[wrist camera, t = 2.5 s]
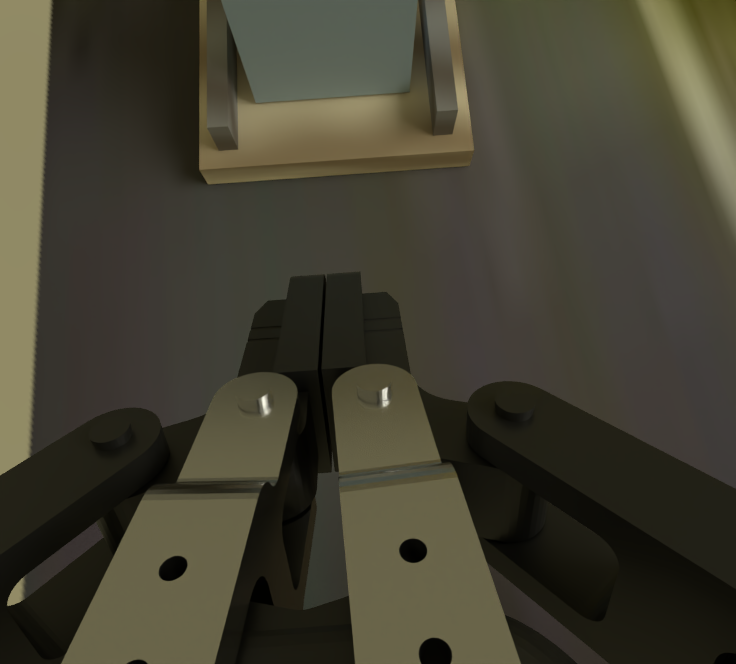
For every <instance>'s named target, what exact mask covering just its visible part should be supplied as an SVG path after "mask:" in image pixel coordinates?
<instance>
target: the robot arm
mask: <svg viewBox="0 0 736 664" xmlns="http://www.w3.org/2000/svg"><path fill="white" fill-rule="evenodd" d="M332 452H333V460H334V467H335V472H339V476H340V477H339V489H340V501H341V512H342V523H343V534H344V545H345V556H346V567H347V578H348V589H349V596H348V597H344V598H341V599H338V600H335V601H332V602H329V603H326V604H323V605H320V606H317V607H314V608H311V609H306V610H303V604H304V595H305V588H306V581H307V574H308V567H309V560H310V553H311V546H312V539H313V532H314V525H315V518H316V511H317V506H316V500H315V495H316V491H317V477H318V473H328V472H331V471H332ZM550 503H551V504H550ZM553 505H554V506H553ZM556 507H557V508H556ZM559 509H560V510H559ZM562 511H563V512H562ZM565 513H566V514H565ZM568 515H569V516H568ZM571 517H572V518H571ZM574 519H575V520H574ZM577 521H578V522H577ZM95 522H96V523H97V525H98V527H99V529H100V531H101V533H102V535H103V537H104V538H102V539H101V540H100V541H99V542H97V543H96V544H95V545H94V546H92V547H91V548H90V549H89V550H87V551H86V552H85V553H83V554H82V555H81V556H80V557H78V558H77V559H76V560H75V561H73V562H72V563H71V564H69V565H68V566H67V567H66V568H64V569H63V570H62V571H61V572H59V573H58V574H57V575H55V576H54V577H53V578H52V579H50V580H49V581H48V582H47V583H45V584H44V585H43V586H41V587H40V588H39V589H38V590H36V591H35V592H34V593H33V594H31V595H30V596H29V597H27V598H26V599H25V600H23V601H21V602H19V603H17V604H15V605H11V606H7V601H8V597H9V595H10V593H11V591H12V590H13V588H14V586H15V585H16V584H17V583H18V582H19V581H20V580H21V579H22V578H23V577H24V576H25V575H26V574H27V573H29V572H30V571H31V570H33V569H34V568H35V567H37V566H38V565H39V564H41V563H42V562H43V561H45V560H46V559H47V558H49V557H50V556H51V555H53V554H54V553H55V552H56V551H58V550H59V549H60V548H62V547H63V546H64V545H66V544H67V543H68V542H70V541H71V540H72V539H74V538H75V537H76V536H78V535H79V534H80V533H82V532H83V531H84V530H86V529H87V528H88V527H90V526H91V525H92V524H94V523H95ZM580 523H581V524H580ZM583 525H584V526H583ZM586 527H587V528H586ZM589 529H590V530H589ZM592 531H593V532H592ZM595 533H596V534H595ZM487 563H488V564H490V565H491V566H492V567H493V568H494V569H496V570H497V571H498V572H499V573H501V574H502V575H503V576H504V577H505V578H507V579H508V580H509V581H510V582H511V583H513V584H514V585H515V586H516V587H517V588H519V589H520V590H521V591H522V592H524V593H525V594H526V595H527V596H528V597H530V598H531V599H532V600H533V601H534V602H536V603H537V604H538V605H539V606H540V607H542V608H543V609H544V610H545V611H547V612H548V613H549V614H550V615H551V616H553V617H554V618H555V619H556V620H557V621H559V622H560V623H561V624H562V625H563V626H565V627H566V628H567V629H568V630H569V631H571V632H572V633H573V634H574V635H576V636H577V637H578V638H579V639H580V640H582V641H583V642H584V643H585V644H586V645H588V646H589V647H590V648H591V649H592V650H594V651H595V652H596V653H597V654H599V655H600V656H601V657H602V658H603V659H605V660H606V661H607V662H608V663H609V664H736V489H735V488H733V487H731V486H729V485H727V484H725V483H723V482H721V481H719V480H717V479H715V478H713V477H711V476H709V475H708V474H706V473H704V472H702V471H700V470H698V469H696V468H694V467H692V466H690V465H688V464H686V463H684V462H682V461H680V460H678V459H676V458H674V457H672V456H671V455H669V454H667V453H665V452H663V451H661V450H659V449H657V448H655V447H653V446H651V445H649V444H647V443H645V442H643V441H641V440H639V439H637V438H635V437H634V436H632V435H630V434H628V433H626V432H624V431H622V430H620V429H618V428H616V427H614V426H612V425H610V424H608V423H606V422H604V421H602V420H600V419H598V418H597V417H595V416H593V415H591V414H589V413H587V412H585V411H583V410H581V409H579V408H577V407H575V406H573V405H571V404H569V403H567V402H565V401H563V400H562V399H560V398H558V397H556V396H554V395H552V394H550V393H548V392H546V391H544V390H542V389H540V388H538V387H535V386H532V385H529V384H526V383H521V382H512V381H503V382H495V383H491V384H488V385H485V386H483V387H481V388H479V389H478V390H476V391H475V392H474V393H473V394H472V395H471V397H470V399H469V401H468V403H467V402H460V401H453V400H448V399H443V398H440V397H436V396H434V395H431V394H429V393H427V392H426V391H424V390H423V389H421V388H420V387H419V386H418V385H417V383H416V381H415V379H414V378H413V377H412V375H411V373H410V367H409V362H408V356H407V351H406V345H405V339H404V334H403V329H402V322H401V317H400V311H399V306H398V303H397V302H396V301H395V300H394V299H393V298H392V297H391V296H390V295H389V294H388V293H387V292H379V293H365V294H362V287H361V275H360V272H348V273H335V274H327V282H326V278H325V275H324V274H323V275H309V276H295V277H291V278H290V283H289V288H288V293H287V299H286V300H272V301H267V302H266V303H265V304H264V305H263V306H262V307H261V308H260V309H259V310H258V311H257V312H256V313H255V315H254V319H253V323H252V326H251V331H250V333H249V337H248V342H247V344H246V348H245V352H244V355H243V359H242V362H241V366H240V370H239V373H238V377H237V378H236V379H234V380H232V381H230V382H228V383H227V384H225V385H224V386H223V387H222V388H220V389H219V390H218V392H217V393H216V394H215V396H214V398H213V400H212V402H211V404H210V406H209V409H208V411H207V413H206V414H205V415H202V416H200V417H197V418H194V419H191V420H188V421H185V422H181V423H178V424H174V425H171V426H167V427H164V428H162V426H161V423H160V420H159V418H158V417H157V416H156V415H155V414H154V413H153V412H151V411H149V410H146V409H142V408H124V409H118V410H114V411H110V412H107V413H105V414H102V415H100V416H97V417H95V418H93V419H92V420H90V421H88V422H86V423H85V424H83V425H82V426H80V427H78V428H77V429H75V430H73V431H72V432H70V433H69V434H67V435H65V436H64V437H62V438H60V439H59V440H57V441H56V442H54V443H52V444H51V445H49V446H47V447H46V448H44V449H43V450H41V451H39V452H38V453H36V454H34V455H33V456H31V457H30V458H28V459H26V460H25V461H23V462H21V463H20V464H18V465H17V466H15V467H13V468H12V469H10V470H9V471H7V472H5V473H4V474H2V475H0V664H577V663H576V662H575V661H574V660H573V659H572V658H570V657H569V656H568V655H567V654H566V653H565V652H564V651H562V650H561V649H560V648H559V647H558V646H556V645H555V644H554V643H552V642H551V641H550V640H548V639H547V638H545V637H544V636H543V635H541V634H540V633H538V632H537V631H535V630H533V629H532V628H530V627H528V626H526V625H525V624H523V623H521V622H519V621H517V620H515V619H513V618H511V617H508V616H506V615H504V612H503V609H502V606H501V604H500V601H499V598H498V595H497V592H496V589H495V586H494V583H493V580H492V577H491V574H490V571H489V568H488V565H487Z"/></svg>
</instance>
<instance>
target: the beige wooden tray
mask: <svg viewBox="0 0 736 664" xmlns="http://www.w3.org/2000/svg"><path fill="white" fill-rule="evenodd" d="M473 152H474V146H473V138H472V130H471V122H470V114H469V106H468V98H467V91H466V83H465V75H464V67H463V59H462V51H461V43H460V36H459V28H458V20H457V12H456V4H455V0H418V3H417V14H416V25H415V36H414V47H413V59H412V70H411V81H410V92H403V93H389V94H374V95H360V96H346V97H332V98H318V99H304V100H290V101H276V102H262V103H256V102H255V99H254V96H253V93H252V90H251V87H250V84H249V81H248V78H247V75H246V72H245V70H244V67H243V64H242V61H241V58H240V55H239V52H238V49H237V46H236V43H235V40H234V37H233V34H232V31H231V28H230V25H229V22H228V20H227V17H226V14H225V11H224V8H223V5H222V2H221V0H200V65H199V170H200V172H201V173H202V175H203V177H204V178H205V180H206V182H207V183H208V184H221V183H235V182H249V181H263V180H277V179H291V178H306V177H320V176H334V175H348V174H362V173H376V172H390V171H404V170H418V169H432V168H446V167H460V166H469V165H470V162H471V159H472V155H473Z"/></svg>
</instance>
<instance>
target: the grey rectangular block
mask: <svg viewBox="0 0 736 664" xmlns="http://www.w3.org/2000/svg"><path fill="white" fill-rule="evenodd" d="M221 2H222V5H223V8H224V11H225V14H226V17H227V20H228V22H229V25H230V28H231V31H232V34H233V37H234V40H235V43H236V46H237V49H238V52H239V55H240V58H241V61H242V64H243V67H244V70H245V72H246V75H247V78H248V81H249V84H250V87H251V90H252V93H253V96H254V99H255V102H256V103H262V102H276V101H290V100H304V99H318V98H332V97H346V96H360V95H374V94H389V93H403V92H410V81H411V70H412V59H413V47H414V36H415V25H416V14H417V3H418V0H221Z"/></svg>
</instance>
